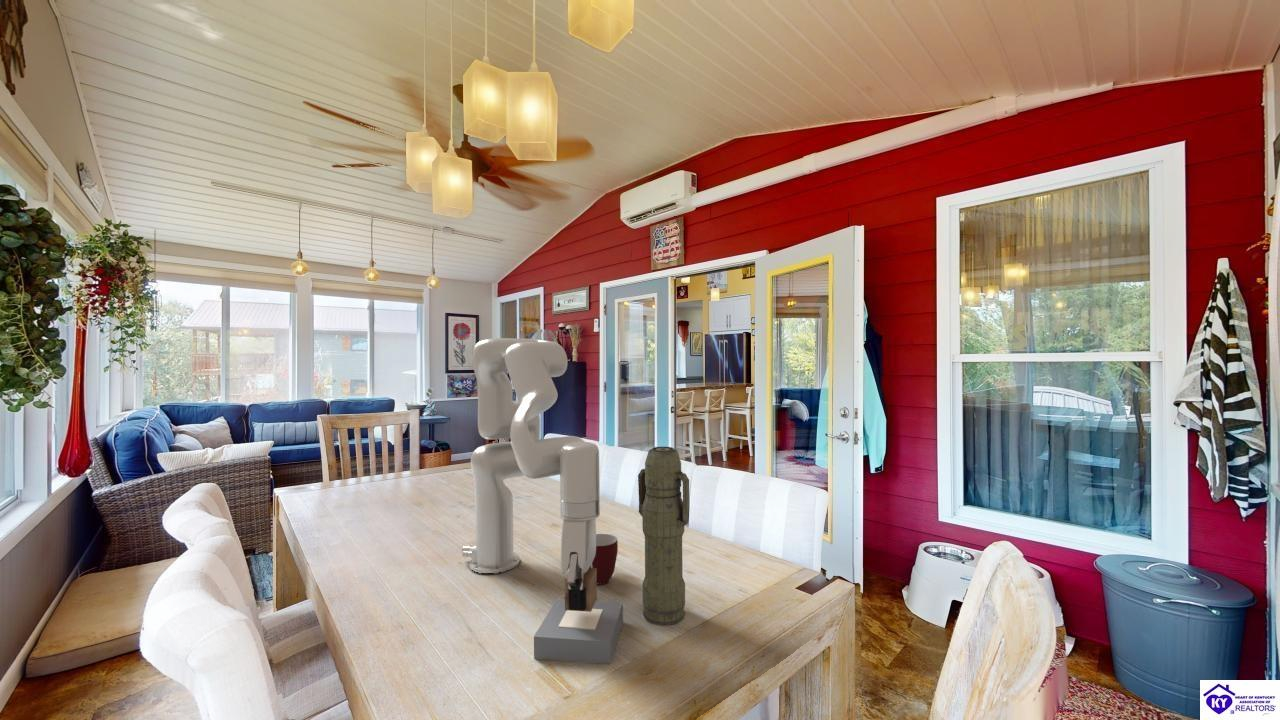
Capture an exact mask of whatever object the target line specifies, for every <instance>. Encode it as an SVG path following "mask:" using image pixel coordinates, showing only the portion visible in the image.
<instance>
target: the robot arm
mask: <svg viewBox="0 0 1280 720" xmlns="http://www.w3.org/2000/svg"><path fill="white" fill-rule="evenodd" d="M471 361H472V367H473V368H472V369H473V371H474V374H475V375H474V376H475V378H476V382H477V389H478V393H477V430H478V434H479V435H480V437H482V438H484V439H485V440H501V439H503V440H504V439H510V441H503V442H495V443H488V444H484V445H480V446H478V447H477V448H475V449H474V450H473V452H472V454H471V456H470V468H471V473H472V478H473V485H474V505H475V506H474V509H475V510H474V518H475V521H474V522H475V545H474V546H471V545H469V546H468V545H464V546H462V549H461V553H462V557H463V558H464V557H465V558H467V557H469V558H471V559H470V561H469V569H470V570H471V571H472V570H473V571H472V572H474V571H475V572H474V573H476V572H478V573H477V574H481V573H494V574H500V573H499V572H501V573H504V572H507V570H508V571H510V570H512V569H514V568H516V567H517V566H518V565H519V563H520V561H521V560H520V559H521V558H520V555H519V554H518V553H517V552H515V551H514V498H513V497H514V496H513V494H512V491H511V489H510V488H509V487H508V486H507V485H506V484H505V482H504V480H507V479H512V478H519V477H524V476H525V477H526V478H528V479H531V480H534V479H544V478H550V477H555V476H559V482H560V483H559V484H560V486H559V488H560V489H559V491H560V492H559V493H560V495H559V497H560V500H559V505H560V508H559V509H560V518H561V519H562V521H563V522H562V527H561V529H562V530H561V539H560V541H561V543H560V572H561V574H566V573H567V574H568V579H567V581H568V589H569V609H570V610H585V609H586V588H584V580H585V573H586V572H587V571H588V569H589V568H592V562H593V560H594V558H595V555H596V534H597V524H596V523H597V521H596V519H597V518H598V517H600V515H601V509H600V508H601V501H600V500H601V498H600V493H601V492H600V488H601V487H600V449H599V447H598V446H597V444H595V443H594V442H589V441H585V440H583V438H582V437H579V436H575V435H568V436H567V435H566V436H561V437H560V436H559V437H548V438H542V439H541V438H540V434H541V433H540V431H541V430H540V429H541V424H540V423H541V421H540V420H541V419H540V415H541V414H542V413H544V412H546V411H547V410H549V409H550V408H551V407H552V406H553V405H554V404H555V403H556V401H557V399H558V391H557V387H556V385H555V383H554V381H553V379H552V378H556V377H561V376H563V375H564V374H565V372H566V371H567V369H568V356H567V352H566V351H565V349H564V347H563V346H562V345H560V344H559V343H558V342H555V341H549V340H543V339H539V338H509V337H507V338H506V337H499V338H498V337H496V338H486V339H483V340H480V341H478V342H477V343H476V344H475V345H474V347H473V350H472V359H471ZM506 373H508V375H509V376H508V375H507V374H506ZM513 389H514V392H515V396H516V398H517V400H518V401H517V400H516V401H513ZM577 568H582V570H581V571H577ZM568 572H569V573H568ZM576 575H581V578H580V580H579V579H577V577H576Z"/></svg>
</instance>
